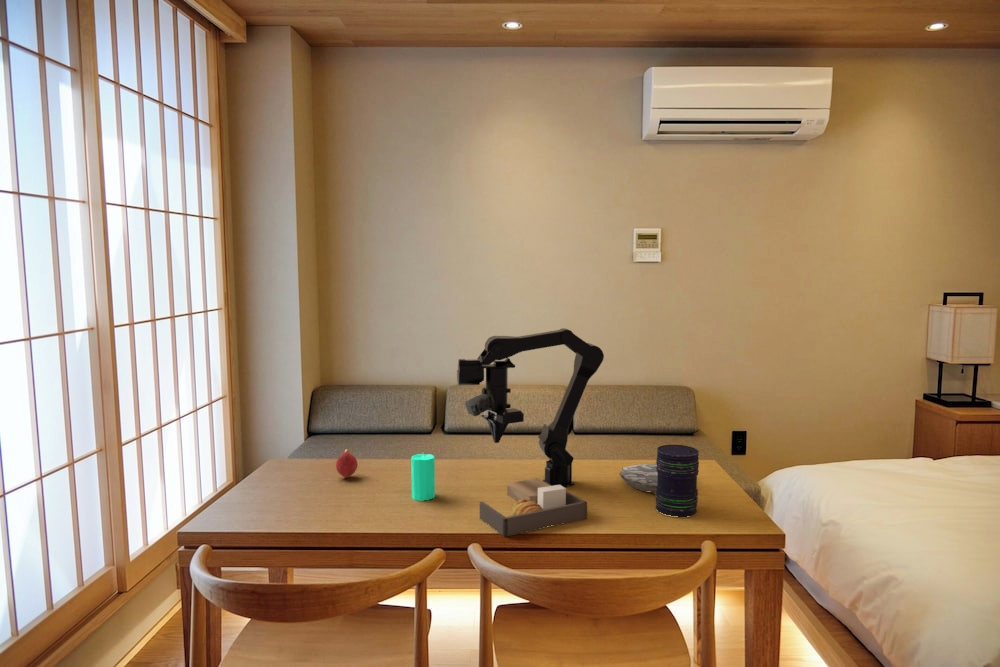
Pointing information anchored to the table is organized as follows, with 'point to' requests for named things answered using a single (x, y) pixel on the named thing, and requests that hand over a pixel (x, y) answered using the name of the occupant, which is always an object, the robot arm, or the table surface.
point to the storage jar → (677, 480)
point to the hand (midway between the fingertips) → (496, 442)
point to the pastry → (525, 507)
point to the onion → (346, 464)
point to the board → (525, 489)
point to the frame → (535, 517)
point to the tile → (551, 496)
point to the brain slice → (641, 476)
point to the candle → (423, 477)
